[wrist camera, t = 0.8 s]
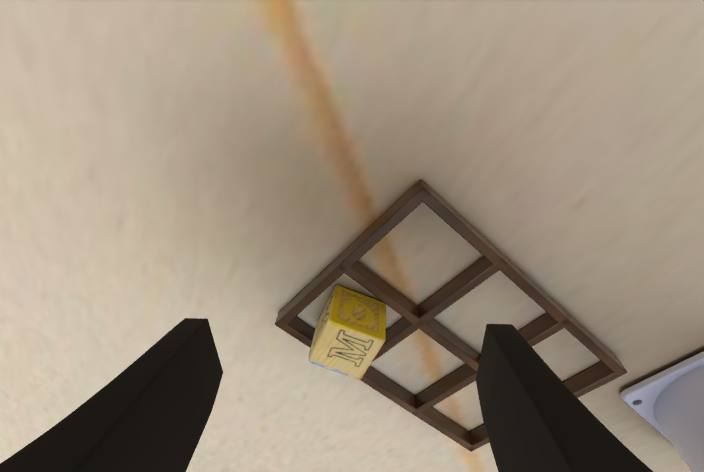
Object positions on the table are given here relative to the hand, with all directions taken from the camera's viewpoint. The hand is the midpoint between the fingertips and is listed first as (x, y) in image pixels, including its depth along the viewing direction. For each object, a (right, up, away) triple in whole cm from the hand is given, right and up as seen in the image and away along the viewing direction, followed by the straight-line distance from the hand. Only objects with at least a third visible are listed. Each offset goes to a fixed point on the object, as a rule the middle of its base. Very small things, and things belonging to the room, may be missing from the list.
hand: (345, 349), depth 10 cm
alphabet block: (0, -1, +12) cm, 12 cm away
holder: (+6, -3, +12) cm, 14 cm away
